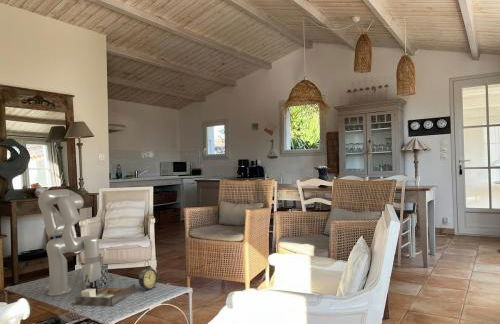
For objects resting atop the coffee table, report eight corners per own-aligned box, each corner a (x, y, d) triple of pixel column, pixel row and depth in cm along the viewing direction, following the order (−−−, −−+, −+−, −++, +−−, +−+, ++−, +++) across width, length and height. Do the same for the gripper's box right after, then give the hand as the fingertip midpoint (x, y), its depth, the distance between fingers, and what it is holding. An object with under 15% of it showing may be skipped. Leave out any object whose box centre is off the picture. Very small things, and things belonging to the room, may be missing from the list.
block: (81, 299, 204) (81, 291, 204) (87, 295, 209) (87, 288, 209) (89, 299, 203) (89, 291, 203) (95, 296, 208) (95, 288, 208)
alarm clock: (144, 293, 215) (142, 264, 215) (137, 291, 218) (136, 263, 218) (158, 287, 224) (157, 259, 225) (151, 286, 227) (150, 258, 227)
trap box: (75, 304, 202) (75, 295, 202) (101, 291, 223) (101, 283, 223) (112, 306, 196) (111, 297, 196) (135, 292, 218) (135, 284, 218)
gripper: (95, 256, 219) (96, 289, 219) (77, 263, 205) (78, 298, 204) (106, 256, 217) (108, 289, 217) (89, 263, 203) (90, 298, 203)
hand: (93, 293), depth 211 cm, fingers closed
